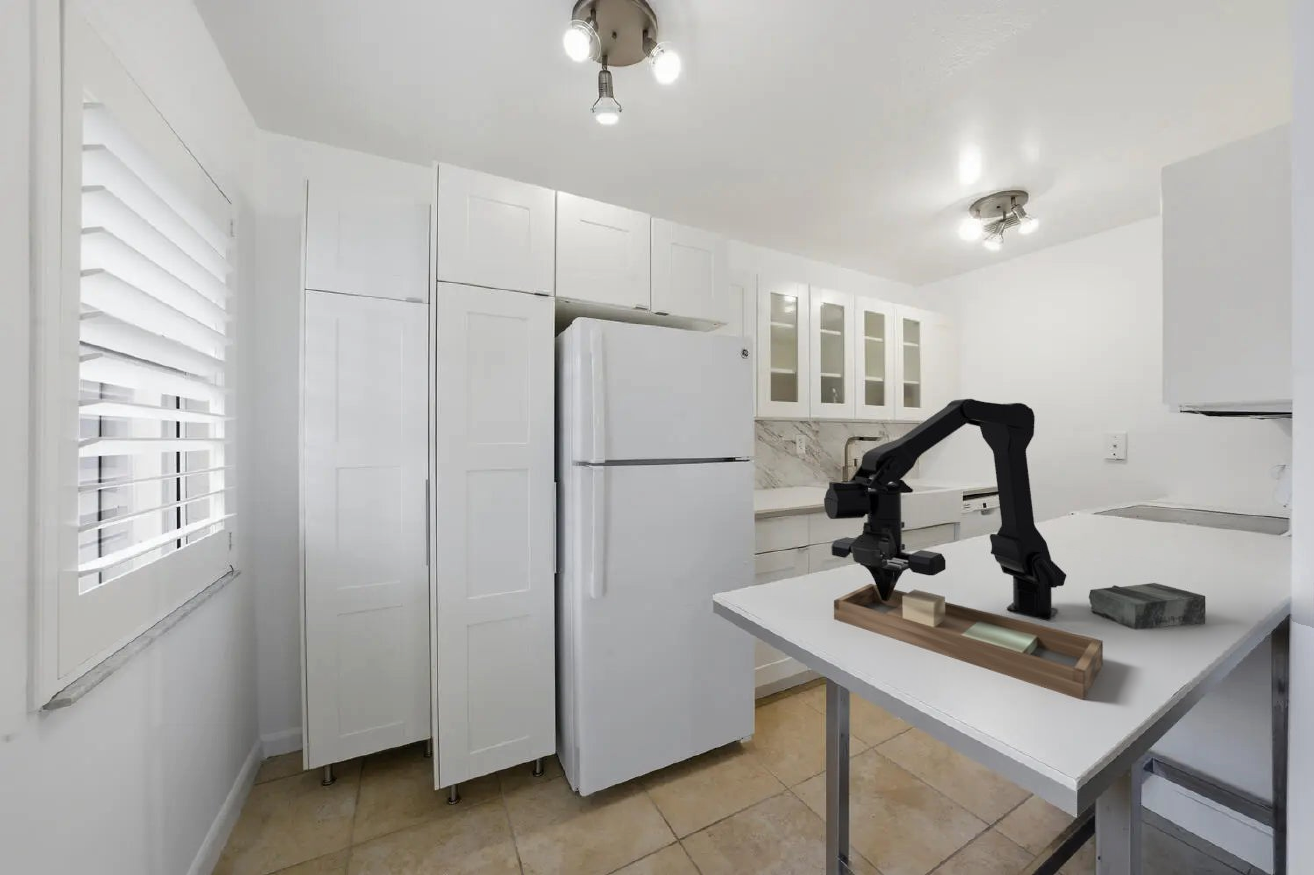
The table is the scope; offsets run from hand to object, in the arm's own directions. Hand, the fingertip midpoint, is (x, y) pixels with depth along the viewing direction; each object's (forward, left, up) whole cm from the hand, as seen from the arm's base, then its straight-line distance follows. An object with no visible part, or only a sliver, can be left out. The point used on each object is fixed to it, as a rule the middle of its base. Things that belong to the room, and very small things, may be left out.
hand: (885, 600), depth 88 cm
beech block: (0, +7, -1) cm, 7 cm away
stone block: (-35, +30, -4) cm, 46 cm away
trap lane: (0, +11, -3) cm, 12 cm away
